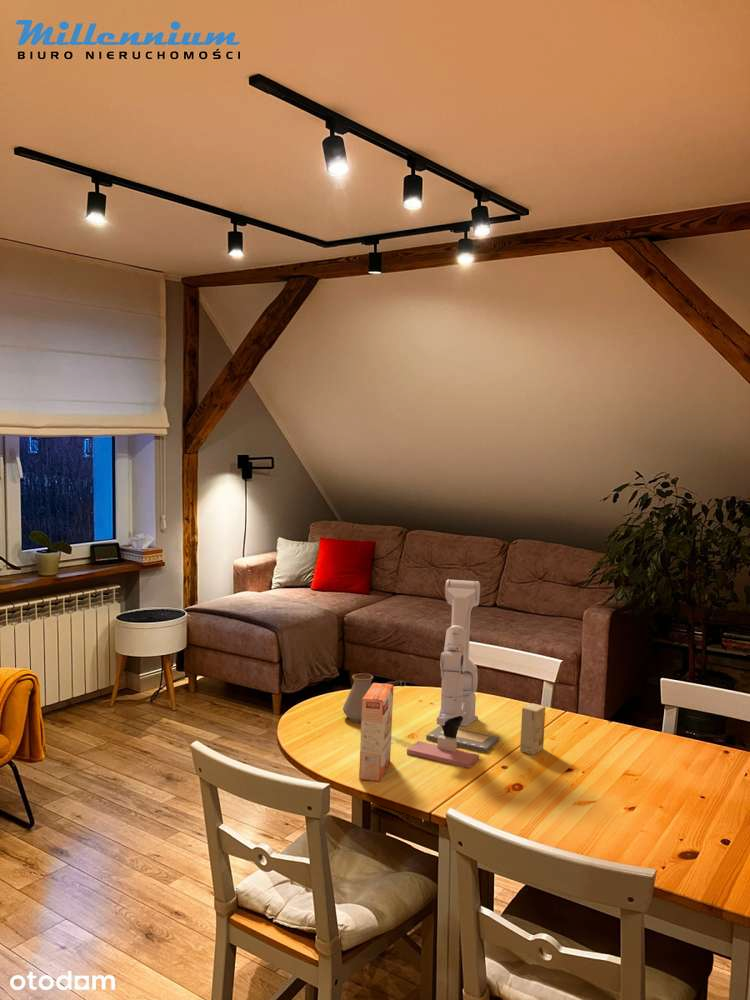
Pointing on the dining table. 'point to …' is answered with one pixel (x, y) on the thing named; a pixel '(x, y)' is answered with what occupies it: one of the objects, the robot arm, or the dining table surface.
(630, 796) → the dining table surface
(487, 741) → the ticket
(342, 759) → the dining table surface
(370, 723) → the cracker box
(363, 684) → the coffee pot
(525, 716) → the skincare box
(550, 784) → the dining table surface
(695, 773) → the dining table surface
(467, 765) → the pink board with handle
